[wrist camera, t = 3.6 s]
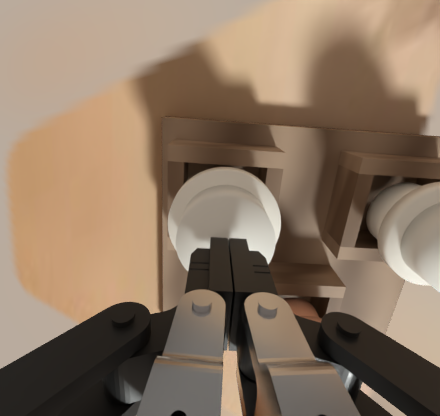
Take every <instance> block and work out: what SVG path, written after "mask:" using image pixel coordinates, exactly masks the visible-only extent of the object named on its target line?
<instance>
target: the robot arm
mask: <svg viewBox="0 0 440 416" xmlns="http://www.w3.org/2000/svg"><path fill="white" fill-rule="evenodd" d="M227 344H229V350H230V351H237V368H236V377H237V384H238V390H239V396H240V403H241V409H242V416H392V415H391V414H390V413H389V412H387V411H386V410H385V409H384V408H382V407H381V406H380V405H379V404H377V403H376V402H375V401H374V400H372V399H371V398H370V397H368V396H367V395H366V394H365V393H363V392H362V391H361V390H360V388H361V385H362V382H364V383H365V384H366V385H368V386H369V387H370V388H372V389H373V390H374V391H375V392H377V393H378V394H379V395H381V396H382V397H383V398H385V399H386V400H387V401H388V402H390V403H391V404H392V405H394V406H395V407H396V408H398V409H399V410H400V411H401V412H403V413H404V414H405V415H407V416H440V368H439V367H437V366H436V365H434V364H432V363H431V362H429V361H427V360H426V359H424V358H422V357H421V356H419V355H417V354H416V353H414V352H413V351H411V350H409V349H407V348H406V347H404V346H403V345H401V344H399V343H398V342H396V341H394V340H393V339H391V338H390V337H388V336H386V335H385V334H383V333H381V332H380V331H378V330H376V329H375V328H373V327H371V326H370V325H368V324H367V323H365V322H363V321H362V320H360V319H358V318H356V317H354V316H352V315H350V314H347V313H342V312H330V313H327V314H325V315H324V316H323V318H322V320H321V323H320V322H317V321H313V320H310V319H306V318H303V317H300V316H298V315H295V314H294V313H293V312H292V310H291V308H290V306H289V304H288V303H287V302H286V301H285V300H284V299H282V298H281V297H279V296H278V293H277V290H276V287H275V284H274V281H273V278H272V275H271V274H270V269H269V267H268V263H267V260H266V258H265V257H264V256H263V255H262V254H261V253H260V252H259V251H249V248H248V243H247V239H240V238H229V240H228V238H220V237H211V238H210V249H208V248H197V249H196V250H195V251H194V252H193V253H192V254H191V257H190V263H189V270H188V275H187V282H186V288H185V294H184V295H183V296H182V297H181V298H180V300H179V302H178V305H177V306H175V307H174V308H172V309H170V310H167V311H164V312H159V313H155V314H150V312H149V310H148V309H147V308H146V307H145V306H144V305H142V304H139V303H135V302H123V303H119V304H116V305H113V306H111V307H109V308H107V309H105V310H103V311H102V312H100V313H98V314H96V315H95V316H93V317H91V318H89V319H88V320H86V321H84V322H82V323H81V324H79V325H77V326H75V327H74V328H72V329H70V330H68V331H67V332H65V333H63V334H61V335H60V336H58V337H56V338H54V339H52V340H51V341H49V342H47V343H45V344H44V345H42V346H40V347H38V348H37V349H35V350H33V351H32V352H30V353H28V354H26V355H25V356H23V357H21V358H19V359H17V360H16V361H14V362H12V363H10V364H9V365H7V366H5V367H3V368H1V369H0V416H220V415H221V397H222V378H223V352H224V350H227Z"/></svg>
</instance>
